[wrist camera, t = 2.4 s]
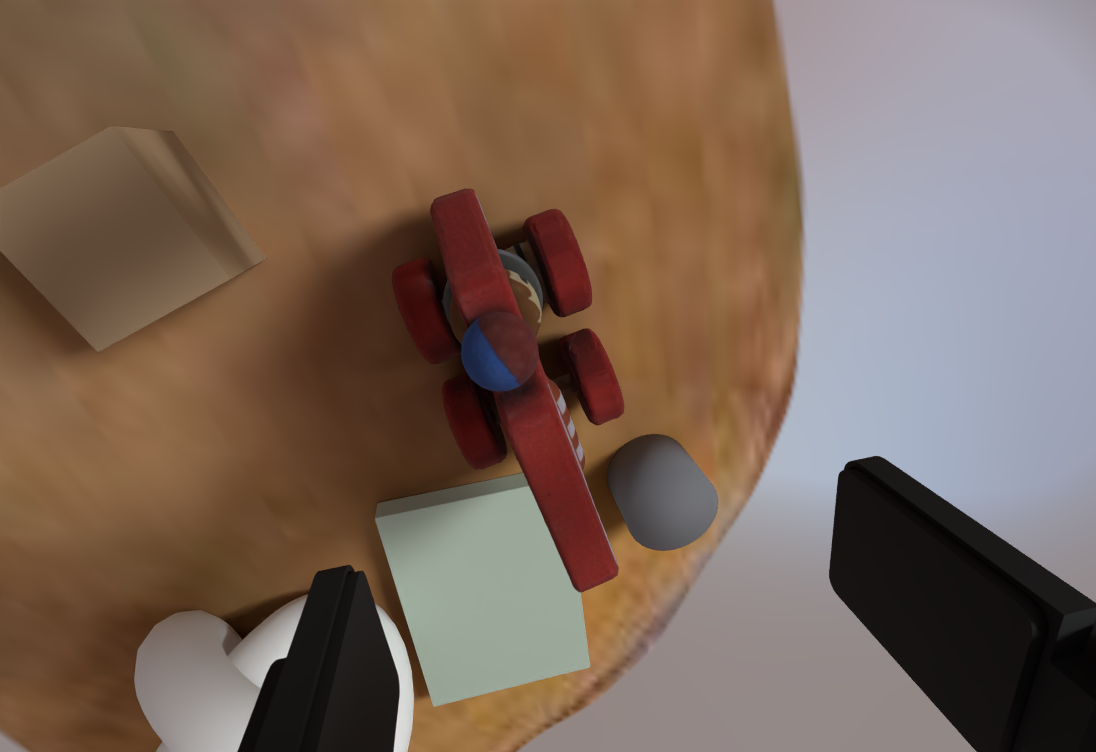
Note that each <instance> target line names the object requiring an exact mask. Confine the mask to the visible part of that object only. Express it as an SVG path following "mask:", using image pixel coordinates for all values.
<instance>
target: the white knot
mask: <svg viewBox="0 0 1096 752" xmlns="http://www.w3.org/2000/svg"><path fill="white" fill-rule="evenodd" d="M307 596H308V594H307V595H304V596H301V597H299V598H297V599H295V600H293V601H291V602H289V603H287V604H286V605H284V606H282V607H281V608H279V609H278V610H276V611H275V612H274V613H272V614H271V615H270V616H269V617H268V618H266V619H265V620H264V621H263V622H262V623H261V624H260V625H258V626H257V627H256V628H255V629H254V630H253V631H251V632H250V633H249V634H248V635H247V636H246V637H245V638H244V639H243V640H242V639H241V637H240V636H239V635H238V633H237V632H236V631H235V630H234V629H233V628H232V627H231V626H230V625H229V624H227V623H226V622H225V621H223V620H222V619H220V618H218V617H216V616H214V615H212V614H210V613H208V612H206V611H202V610H194V611H184V612H178V613H175V614H173V615H171V616H169V617H168V618H166V619H164V620H163V621H161V622H159V623H158V624H156V625H155V626H154V627H153V629H152V630H151V631H150V633H149V634H148V636H147V637H146V638H145V640H144V641H143V643H142V644H141V646H140V647H139V648H138V651H137V659H136V667H135V677H134V683H135V689H136V695H137V698H138V700H139V703H140V706H141V708H142V711H143V713H144V715H145V716H146V718H147V720H148V721H149V723H150V725H151V727H152V728H153V730H154V731H155V732H156V734H157V735H158V736H159V737H160V739H161V740H162V743H161V744H160V746H159V747H158V749H157V750H156V752H237V751H238V749H239V746H240V743H241V741H242V738H243V735H244V733H245V730H246V727H247V725H248V722H249V719H250V717H251V714H252V711H253V709H254V706H255V703H256V701H257V698H258V695H259V693H260V690H261V687H262V685H263V682H264V679H265V677H266V674H267V672H268V670H269V668H270V666H271V664H272V663H273V662H274V661H275V660H277V659H282V658H286V657H287V654H288V651H289V648H290V645H291V643H292V640H293V637H294V634H295V631H296V628H297V625H298V622H299V620H300V617H301V614H302V611H303V608H304V605H305V602H306V599H307ZM375 605H376V604H375ZM376 609H377V612H378V615H379V618H380V621H381V624H382V627H383V630H384V633H385V636H386V639H387V642H388V645H389V648H390V651H391V654H392V657H393V660H394V663H395V666H396V669H397V672H398V676H399V684H400V697H399V706H398V715H397V725H396V734H395V743H394V752H407V751H408V746H409V741H410V736H411V731H412V722H413V706H414V693H413V681H412V670H411V666H410V662H409V659H408V655H407V651H406V647H405V644H404V642H403V640H402V638H401V636H400V634H399V632H398V629H397V627H396V625H395V624H394V623H393V622H392V620H391V619H390V618H389V616H388V615H387V614H386V613H385V611H384V610H383V609H382V608H380V607H379V606H378V605H376Z"/></svg>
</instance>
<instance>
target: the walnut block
mask: <svg viewBox="0 0 1096 752" xmlns="http://www.w3.org/2000/svg"><path fill="white" fill-rule="evenodd" d="M0 251H1V252H2V253H3V254H4V255H5V257H6V258H7V259H8V260H9V261H10V262H11V263H12V264H13V265H14V266H15V267H16V268H17V269H18V270H19V271H20V272H21V273H22V274H23V275H24V276H25V277H26V278H27V279H28V280H29V281H30V282H31V284H32V285H33V286H34V287H35V288H36V289H37V290H38V291H39V292H40V293H41V294H42V295H43V296H44V297H45V298H46V299H47V300H48V301H49V302H50V303H51V304H52V305H53V306H54V307H55V308H56V309H57V311H58V312H59V313H60V314H61V315H62V316H63V317H64V318H65V319H66V320H67V321H68V322H69V323H70V324H71V325H72V326H73V327H74V328H75V329H76V330H77V331H78V332H79V333H80V334H81V335H82V336H83V338H84V339H85V340H86V341H87V342H88V343H89V344H90V345H91V346H92V347H93V348H94V349H95V350H96V351H97V352H100V351H101V350H103V349H105V348H107V347H109V346H110V345H112V344H114V343H116V342H118V341H120V340H121V339H123V338H125V337H127V336H129V335H130V334H132V333H134V332H136V331H138V330H139V329H141V328H143V327H145V326H147V325H149V324H150V323H152V322H154V321H156V320H158V319H159V318H161V317H163V316H165V315H167V314H168V313H170V312H172V311H174V310H176V309H177V308H179V307H181V306H183V305H185V304H187V303H188V302H190V301H192V300H194V299H196V298H197V297H199V296H201V295H203V294H205V293H206V292H208V291H210V290H212V289H214V288H216V287H217V286H219V285H221V284H223V283H225V282H226V281H228V280H230V279H232V278H234V277H235V276H237V275H239V274H241V273H242V272H244V271H246V270H247V269H249V268H251V267H253V266H254V265H256V264H258V263H260V262H261V261H263V260H265V259H267V258H266V256H265V255H264V254H263V252H262V251H261V249H260V248H259V247H258V245H257V244H256V243H255V241H254V240H253V239H252V237H251V236H250V235H249V233H248V232H247V231H246V229H245V228H244V226H243V225H242V224H241V222H240V221H239V220H238V218H237V217H236V216H235V214H234V213H233V212H232V210H231V209H230V208H229V206H228V205H227V203H226V202H225V201H224V199H223V198H222V197H221V195H220V194H219V193H218V191H217V190H216V189H215V187H214V186H213V185H212V183H211V182H210V180H209V179H208V178H207V176H206V175H205V174H204V172H203V171H202V170H201V168H200V167H199V166H198V164H197V163H196V162H195V160H194V159H193V157H192V156H191V155H190V153H189V152H188V151H187V149H186V148H185V147H184V145H183V144H182V143H181V141H180V140H179V139H178V137H177V136H176V134H175V133H174V132H172V131H161V130H150V129H139V128H128V127H117V126H110V127H108V128H106V129H105V130H103V131H101V132H99V133H98V134H96V135H94V136H92V137H90V138H89V139H87V140H85V141H83V142H82V143H80V144H78V145H76V146H74V147H73V148H71V149H69V150H67V151H66V152H64V153H62V154H60V155H58V156H57V157H55V158H53V159H51V160H50V161H48V162H46V163H44V164H43V165H41V166H39V167H37V168H35V169H34V170H32V171H30V172H28V173H27V174H25V175H23V176H21V177H19V178H18V179H16V180H14V181H12V182H11V183H9V184H7V185H5V186H3V187H2V188H0Z"/></svg>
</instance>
